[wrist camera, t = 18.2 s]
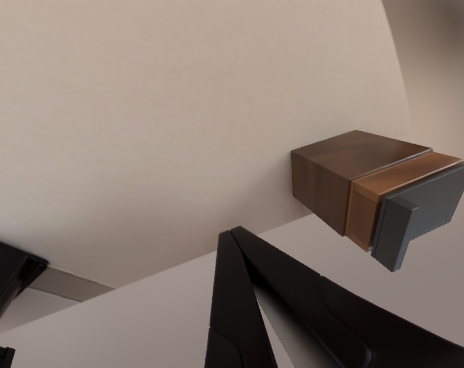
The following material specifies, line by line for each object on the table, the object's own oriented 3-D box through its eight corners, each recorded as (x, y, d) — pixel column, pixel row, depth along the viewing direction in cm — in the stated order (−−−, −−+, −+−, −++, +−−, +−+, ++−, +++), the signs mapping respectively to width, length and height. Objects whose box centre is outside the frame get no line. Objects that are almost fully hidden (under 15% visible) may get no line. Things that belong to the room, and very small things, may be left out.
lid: (370, 255, 17) (392, 273, 15) (383, 196, 14) (411, 210, 12) (445, 220, 18) (472, 232, 17) (471, 160, 15) (506, 169, 14)
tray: (344, 235, 19) (366, 253, 17) (351, 180, 16) (378, 194, 14) (414, 205, 20) (441, 218, 18) (431, 150, 17) (465, 159, 15)
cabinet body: (292, 196, 26) (342, 237, 19) (290, 150, 23) (348, 180, 16) (350, 174, 27) (415, 205, 20) (356, 129, 24) (434, 148, 17)
